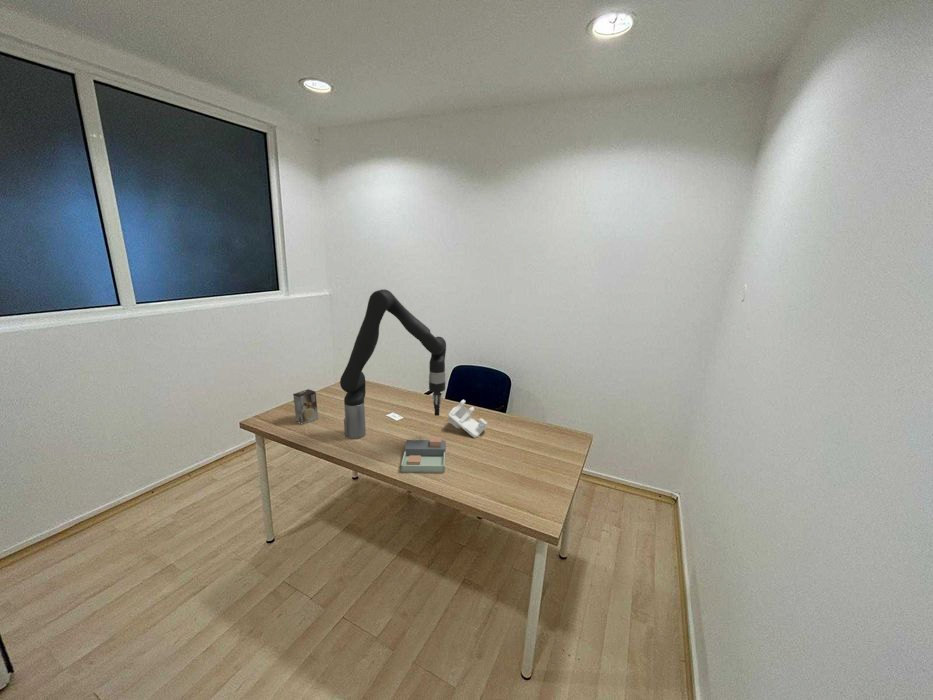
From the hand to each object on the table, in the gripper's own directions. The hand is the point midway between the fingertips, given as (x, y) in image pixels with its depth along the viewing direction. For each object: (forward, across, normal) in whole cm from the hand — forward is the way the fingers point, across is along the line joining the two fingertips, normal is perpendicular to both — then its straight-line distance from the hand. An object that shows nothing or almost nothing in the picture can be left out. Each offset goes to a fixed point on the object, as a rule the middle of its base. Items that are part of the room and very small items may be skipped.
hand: (437, 414), depth 166 cm
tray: (+15, +19, -5) cm, 24 cm away
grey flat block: (+15, +9, -5) cm, 18 cm away
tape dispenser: (+15, -13, +15) cm, 25 cm away
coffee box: (+14, -22, -71) cm, 75 cm away
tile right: (+11, +8, 0) cm, 14 cm away
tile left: (+12, +19, -9) cm, 24 cm away
